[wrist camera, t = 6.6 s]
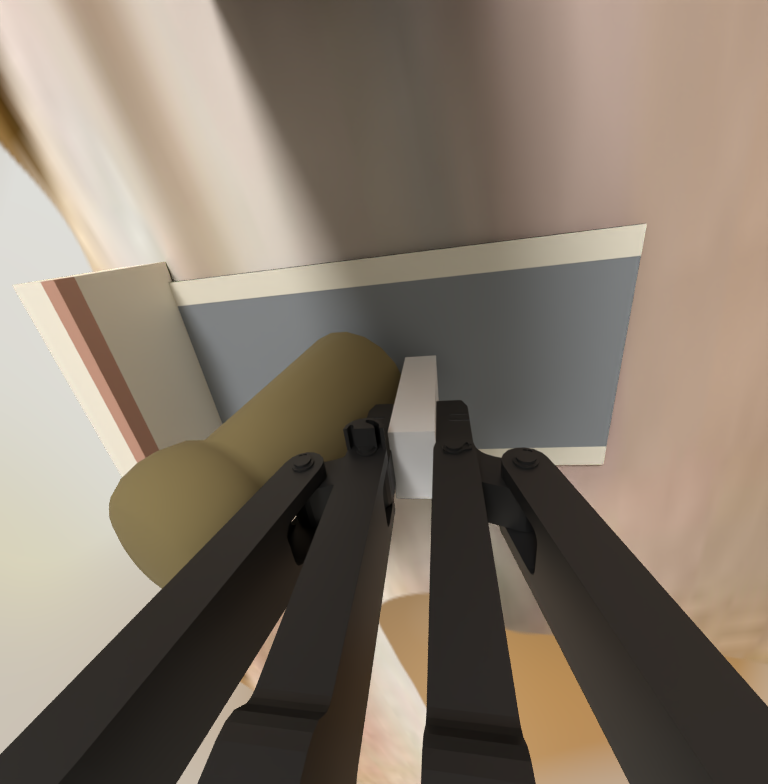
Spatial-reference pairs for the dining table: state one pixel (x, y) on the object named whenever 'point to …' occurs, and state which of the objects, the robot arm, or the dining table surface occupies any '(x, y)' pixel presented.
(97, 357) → the stop block
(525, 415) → the mat
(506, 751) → the robot arm
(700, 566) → the dining table surface
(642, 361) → the dining table surface
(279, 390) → the cork
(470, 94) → the dining table surface
